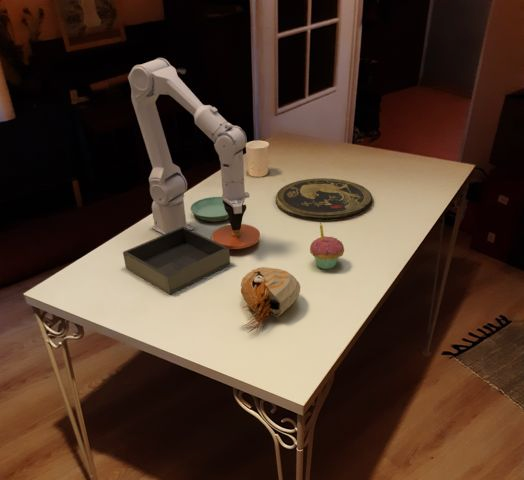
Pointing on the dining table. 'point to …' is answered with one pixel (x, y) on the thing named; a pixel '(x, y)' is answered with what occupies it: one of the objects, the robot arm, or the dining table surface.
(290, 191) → the decorative plate
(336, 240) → the cupcake
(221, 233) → the orange round pegged disc
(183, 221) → the robot arm
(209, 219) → the saucer
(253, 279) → the nautilus shell
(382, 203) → the dining table surface
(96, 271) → the dining table surface
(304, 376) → the dining table surface
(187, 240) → the tray
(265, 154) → the white cup
